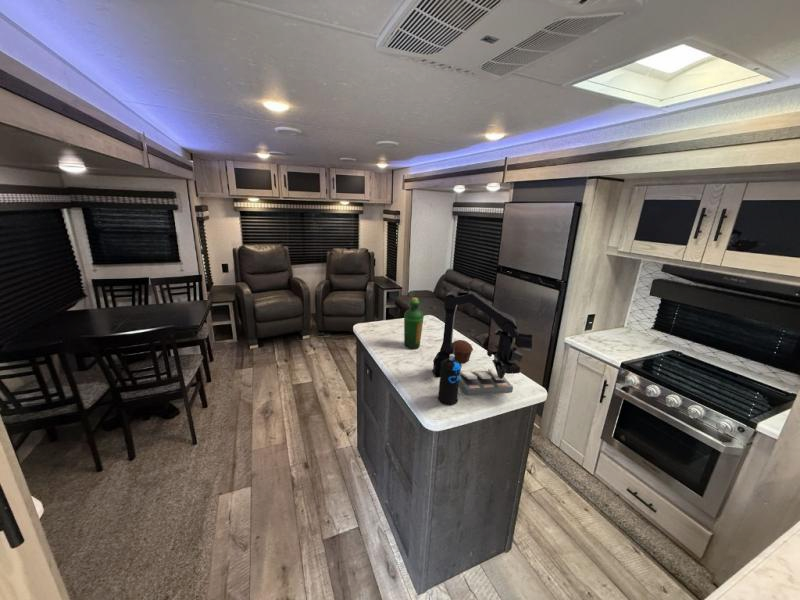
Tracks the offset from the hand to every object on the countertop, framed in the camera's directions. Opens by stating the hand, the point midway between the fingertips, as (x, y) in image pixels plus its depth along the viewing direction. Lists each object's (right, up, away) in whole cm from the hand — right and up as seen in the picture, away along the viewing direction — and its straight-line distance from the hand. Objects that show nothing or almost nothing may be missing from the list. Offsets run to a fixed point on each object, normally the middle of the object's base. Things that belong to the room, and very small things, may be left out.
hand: (500, 378), depth 136 cm
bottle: (-37, +8, +37) cm, 53 cm away
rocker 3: (-1, 0, +4) cm, 4 cm away
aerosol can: (-25, -6, -9) cm, 27 cm away
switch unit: (-7, -4, +3) cm, 8 cm away
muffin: (-13, +3, +25) cm, 28 cm away
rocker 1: (-13, 0, +1) cm, 14 cm away
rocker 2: (-7, 0, +3) cm, 8 cm away
